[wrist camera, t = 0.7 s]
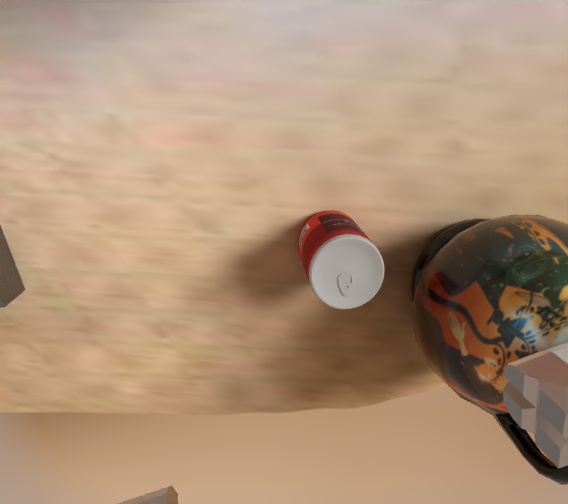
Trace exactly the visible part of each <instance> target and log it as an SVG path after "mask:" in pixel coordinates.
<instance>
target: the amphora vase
mask: <svg viewBox="0 0 568 504" xmlns="http://www.w3.org/2000/svg"><path fill="white" fill-rule="evenodd" d="M410 288H411V295H412V302H413V310H412V311H413V323H414V330H415V337H416V340H417V342H418V344H419V346H420V348H421V350H422V352H423V354H424V356H425V358H426V360H427V362H428V363H429V365H430V367H431V368H432V370H433V371H434V372H435V373H436V374H437V375H438V376H439V377H440V378H441V379H442V380H443V381H444V382H445V383H446V384H447V385H448V386H449V387H450V388H451V389H452V390H453V391H454V392H456V394H458V395H459V396H460V397H461V398H463V399H465V400H467V401H468V402H471V403H472V404H474V405H476V406H478V407H480V408H482V409H483V410H485V411H486V412H488V413H490V414H491V415H493V416H494V418H495V419H496V421H497V422H498V423H499V425H500V426H501V427H502V428H503V430H504V431H505V433H506V434H507V435H508V437H509V438H510V439H511V441H512V442H513V443H514V445H515V446H516V448H517V449H518V450H519V451H520V453H521V454H522V456H523V457H524V458H525V459H526V460H527V461H528V462H529V463H530V464H531V465H532V466H533V467H534V468H535V469H536V470H537V472H538V473H540V474H541V475H543V476H545V477H547V478H549V479H551V480H553V481H555V482H557V483H559V484H561V485H567V484H568V465H567V466H564V467H561V468H557V467H556V465H555V464H554V463H553V462H552V461H551V460H549V459H548V458H547V457H546V456H545V455H544V454H542V452H541V451H540V450H539V448H538V447H537V445H536V444H535V443H534V441H533V440H532V438H531V437H530V436H529V434H528V433H527V431H526V430H525V429H522V428H521V427H520V426H519V425H518V424H517V423H516V422H515V421H514V419H513V418H512V416H511V415H510V413H509V412H508V410H507V408H506V405H505V402H504V400H503V389H504V387H505V386H506V384H507V383H508V380H507V379H506V378H505V377H504V367H505V366H506V365H507V364H508V363H511V362H513V361H516V360H519V359H521V358H524V357H527V356H529V355H532V354H535V353H537V352H540V351H545V350H547V349H550V348H552V347H555V346H558V345H561V344H564V343H565V344H568V224H567V223H564V222H560V221H557V220H554V219H550V218H547V217H544V216H540V215H510V216H503V217H499V218H495V219H473V220H469V221H465V222H461V223H458V224H456V225H454V226H452V227H450V228H448V229H447V230H445V231H443V232H442V233H440V234H439V235H438V236H437V237H436V238H435V239H433V240H432V241H431V242H430V243H429V244H428V245H427V247H426V248H425V249H424V251H423V252H422V253H421V255H420V256H419V258H418V260H417V263H416V265H415V268H414V270H413V273H412V280H411V287H410Z"/></svg>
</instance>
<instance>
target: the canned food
mask: <svg viewBox="0 0 568 504" xmlns="http://www.w3.org/2000/svg"><path fill="white" fill-rule="evenodd" d="M299 251H300V254H301V257H302V261H303V264H304V267H305V270H306V273H307V276H308V279H309V282H310V285H311V287H312V290H313V291H314V293H315V294H316V296H317V297H318V298H319V299H320V300H321V301H322V302H323V303H325V304H326V305H328V306H330V307H333V308H337V309H352V308H356V307H359V306H361V305H363V304H365V303H366V302H368V301H369V300H370V299H371V298H373V297H374V296H375V294H376V293H377V292H378V290H379V288H380V286H381V285H382V282H383V278H384V262H383V259H382V256H381V254H380V252H379V251H378V249H377V247H376V246H375V245H374V244H373V242H372V241H371V240H370V239H369V238H368V237H367V236H366V235H365V233H364V232H363V231H362V230H361V229H360V228H359V227H358V225H357V224H356V223H355V222H354V221H353V220H352V219H351V218H350V217H349V216H347V215H346V214H344V213H342V212H339V211H323V212H320V213H317V214H315V215H314V216H312V217H311V218H310V219H309V220H308V221H307V222H306V223H305V225H304V226H303V227H302V230H301V232H300V236H299Z"/></svg>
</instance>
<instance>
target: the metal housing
mask: <svg viewBox="0 0 568 504" xmlns="http://www.w3.org/2000/svg"><path fill="white" fill-rule="evenodd" d="M24 290H25V288H24V285H23V283H22V280H21V278H20V275H19V273H18V270H17V267H16V265H15V262H14V260H13V257H12V254H11V252H10V249H9V247H8V244H7V242H6V239H5V236H4V234H3V231H2V229H1V226H0V308H1V307H5V306H7V305H8V304H9V303H10V302H11V301H13V300H14V299H15V298H16V297H17V296H18V295H20V294H21V293H22V292H23V291H24Z"/></svg>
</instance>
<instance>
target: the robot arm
mask: <svg viewBox="0 0 568 504" xmlns="http://www.w3.org/2000/svg"><path fill="white" fill-rule="evenodd" d="M504 377H505V378H506V379H507V380H508V383H507V384H506V386H505V387H504V389H503V400H504V402H505V405H506V408H507V410H508V412H509V413H510V415H511V416H512V418H513V419H514V421H515V422H516V423H517V424H518V425H519V426H520V427H521V428H522V429H525V430H527V431H529V432H532V433H534V435H535V444H536V445H537V446H538V447H539V448H540V449H541V450H542V451H543V452H544V454H545V455H546V456H547V457H548V458H549V459H550V460H551V461H552V462H553V463H554V464H555V465H556V467H557V468H561V467H564V466H567V465H568V344H565V343H564V344H561V345H558V346H555V347H552V348H550V349H547V350H545V351H540V352H537V353H535V354H532V355H529V356H527V357H524V358H521V359H519V360H516V361H513V362H511V363H508V364H507V365H506V366H505V367H504ZM118 504H178V494H177V492H176V491H175V489H174V488H173V487H172V486H169V487H167V488H163V489H160V490H157V491H154V492H151V493H148V494H145V495H143V496H139V497H136V498H133V499H131V500H127V501H124V502H121V503H118Z"/></svg>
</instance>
